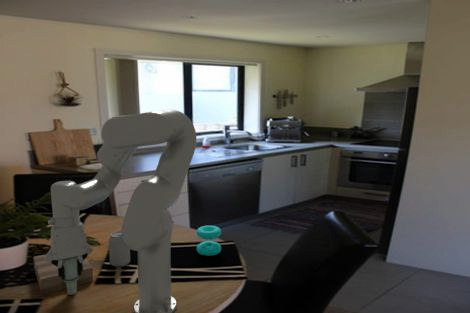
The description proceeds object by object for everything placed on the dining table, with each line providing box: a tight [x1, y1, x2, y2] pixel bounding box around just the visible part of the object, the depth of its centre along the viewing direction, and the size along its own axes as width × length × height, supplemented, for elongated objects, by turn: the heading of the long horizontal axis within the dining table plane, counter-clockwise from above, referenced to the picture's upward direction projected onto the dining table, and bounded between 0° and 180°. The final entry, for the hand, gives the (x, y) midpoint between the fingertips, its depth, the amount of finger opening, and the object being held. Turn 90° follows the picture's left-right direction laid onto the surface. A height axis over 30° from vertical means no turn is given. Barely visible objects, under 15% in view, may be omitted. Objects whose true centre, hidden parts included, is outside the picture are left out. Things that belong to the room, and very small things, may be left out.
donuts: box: [196, 225, 222, 257], centre depth 158 cm, size 10×10×10 cm
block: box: [32, 253, 94, 295], centre depth 137 cm, size 20×16×5 cm
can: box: [108, 230, 131, 268], centre depth 146 cm, size 8×8×12 cm
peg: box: [62, 256, 79, 296], centre depth 123 cm, size 4×4×12 cm
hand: (70, 275), depth 123 cm, fingers closed on peg, 4 cm apart
